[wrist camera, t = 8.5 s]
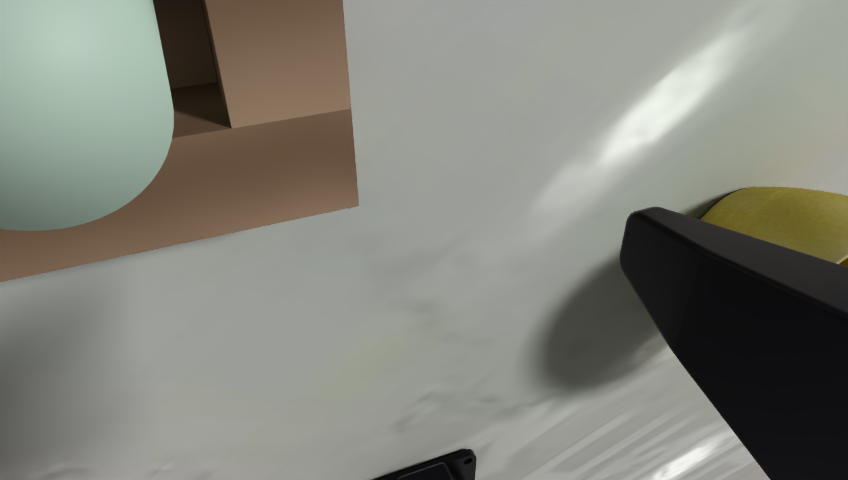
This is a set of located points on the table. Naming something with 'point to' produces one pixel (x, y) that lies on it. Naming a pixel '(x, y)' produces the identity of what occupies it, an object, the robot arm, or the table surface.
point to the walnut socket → (228, 134)
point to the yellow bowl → (788, 219)
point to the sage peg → (79, 109)
